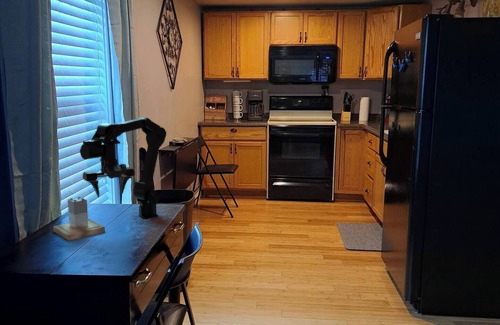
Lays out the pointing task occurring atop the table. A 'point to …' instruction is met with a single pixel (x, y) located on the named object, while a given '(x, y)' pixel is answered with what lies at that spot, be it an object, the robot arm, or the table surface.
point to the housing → (78, 212)
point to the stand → (78, 230)
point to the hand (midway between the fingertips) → (110, 195)
